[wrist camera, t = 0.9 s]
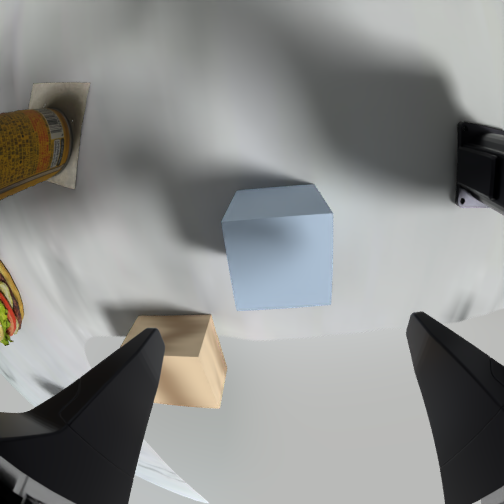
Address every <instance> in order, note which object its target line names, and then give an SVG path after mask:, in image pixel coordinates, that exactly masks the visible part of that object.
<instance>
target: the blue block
mask: <svg viewBox="0 0 504 504" xmlns="http://www.w3.org/2000/svg"><path fill="white" fill-rule="evenodd" d="M221 224H222V230H223V236H224V242H225V248H226V254H227V260H228V266H229V271H230V277H231V282H232V288H233V294H234V299H235V304H236V310H237V311H246V310H266V309H283V308H297V307H310V306H322V305H331V296H332V271H333V213H332V211H331V209H330V208H329V206H328V205H327V203H326V202H325V200H324V198H323V197H322V195H321V194H320V192H319V191H318V189H317V188H316V186H315V185H314V184H310V185H294V186H281V187H268V188H257V189H247V190H237V191H236V193H235V195H234V197H233V199H232V201H231V203H230V205H229V207H228V209H227V211H226V213H225V215H224V217H223V219H222V221H221Z"/></svg>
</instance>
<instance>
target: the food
mask: <svg viewBox="0 0 504 504" xmlns="http://www.w3.org/2000/svg"><path fill="white" fill-rule="evenodd" d="M23 316H24V311H23V304H22V301H21V298H20V295H19V292H18V290H17V288H16V286H15V284H14V282H13V280H12V278H11V276H10V274H9V273H8V271H7V270H6V268H5V267H4V266H3V264H2V263H1V261H0V342H1V343H3V344H4V345H5V346H6V345H9V342H8V341H10V342H13V341H12V340H10V336H12V335H13V334H17V332H18V330H19V329H20V328H21V323H22V319H23Z"/></svg>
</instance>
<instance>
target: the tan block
mask: <svg viewBox="0 0 504 504" xmlns="http://www.w3.org/2000/svg"><path fill="white" fill-rule="evenodd" d="M146 328H157V329H158V330H159V332H160V334H161V336H162V339H163V341H164V344H165V353H164V358H163V364H162V369H161V375H160V380H159V385H158V389H157V392H156V396H155V399H154V402H153V403H160V404H168V405H178V406H188V407H201V408H220V404H221V398H222V393H223V388H224V383H225V377H226V371H227V365H226V362H225V358H224V355H223V352H222V349H221V345H220V342H219V338H218V335H217V333H216V330H215V327H214V323H213V319H212V316H211V315H173V316H138V318H137V319H136V321H135V323H134V324H133V326H132V328H131V329H130V331H129V333H128V334H127V336H126V338H125V340H124V341H123V343H122V345H121V347H122V346H123V345H124V344H126V343H127V342H128V341H130V340H131V339H132V338H134V337H135V336H136V335H138V334H139V333H140V332H142V331H143V330H144V329H146Z"/></svg>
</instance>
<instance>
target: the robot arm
mask: <svg viewBox="0 0 504 504" xmlns="http://www.w3.org/2000/svg"><path fill="white" fill-rule="evenodd" d="M463 127H465V131H464V130H463ZM461 199H462V202H460V201H461ZM455 200H456V204H457V205H458V206H459V207H462V208H492V209H494V210H496V211H497V212H499V213H501V214H502V215H504V131H502V130H498V129H494V128H490V127H486V126H481V125H477V124H472V123H467V122H460V123H459V124H458V172H457V188H456V199H455ZM406 336H407V339H408V344H409V348H410V353H411V357H412V362H413V366H414V370H415V374H416V377H417V380H418V384H419V387H420V390H421V393H422V396H423V400H424V403H425V407H426V410H427V414H428V417H429V421H430V425H431V429H432V433H433V437H434V442H435V446H436V451H437V455H438V461H439V466H440V472H441V478H442V484H443V491H444V499H445V504H472V503H474V502H476V501H478V500H480V499H481V503H482V504H504V366H503V365H501V364H499V363H498V362H497V361H495V360H494V359H493V358H490V357H489V356H488V355H487V354H485V353H484V352H482V351H481V350H479V349H478V348H477V347H475V346H474V345H472V344H471V343H469V342H468V341H466V340H465V339H463V338H462V337H460V336H459V335H457V334H456V333H454V332H453V331H452V330H450V329H448V328H447V327H445V326H444V325H442V324H441V323H439V322H438V321H436V320H435V319H433V318H432V317H430V316H429V315H427V314H426V313H424V312H414V313H412V314H411V316H410V320H409V323H408V327H407V332H406ZM164 353H165V344H164V341H163V339H162V336H161V334H160V332H159V330H158V329H157V328H146V329H144V330H143V331H142V332H140V333H139V334H138V335H136V336H135V337H134V338H132V339H131V340H130V341H128V342H127V343H126V344H124V345H123V346H122V347H120V348H119V349H118V350H116V351H115V352H114V353H112V354H111V355H110V356H108V357H107V358H106V359H104V360H103V361H102V362H100V363H99V364H98V365H96V366H95V367H94V368H92V369H91V370H90V371H88V372H87V373H86V374H84V375H83V376H82V377H81V378H79V379H77V380H76V381H75V382H74V383H72V384H71V385H69V386H68V387H67V388H65V389H64V390H62V391H61V392H59V393H58V394H56V395H55V396H53V397H51V398H50V399H48V400H47V401H45V402H43V403H42V404H40V405H38V406H37V407H35V408H34V409H32V410H30V411H27V412H24V413H4V412H0V504H128V501H129V497H130V492H131V488H132V483H133V478H134V474H135V470H136V466H137V462H138V458H139V454H140V450H141V446H142V442H143V439H144V435H145V431H146V427H147V423H148V420H149V417H150V413H151V409H152V406H153V402H154V399H155V396H156V392H157V389H158V385H159V380H160V375H161V369H162V364H163V358H164Z"/></svg>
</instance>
